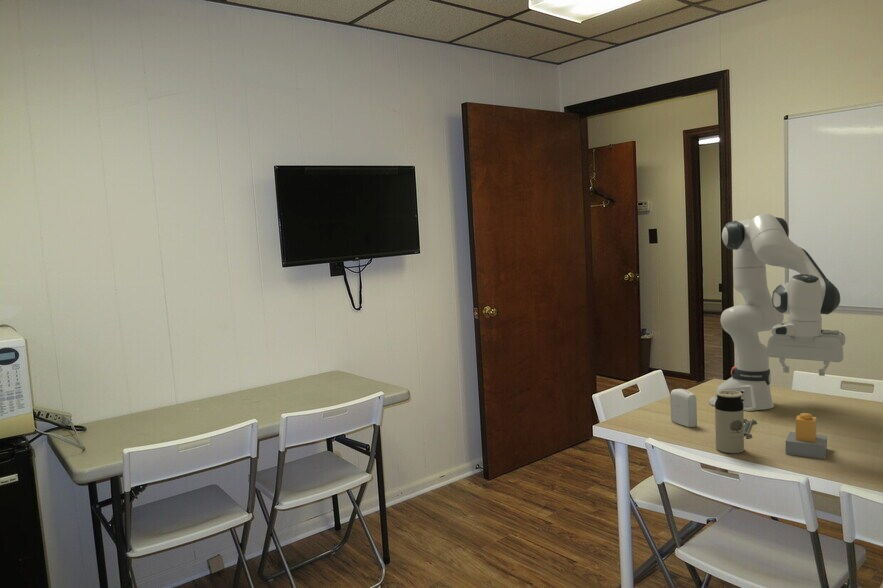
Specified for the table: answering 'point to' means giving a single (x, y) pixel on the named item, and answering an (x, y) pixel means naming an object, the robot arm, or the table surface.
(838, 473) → the table surface
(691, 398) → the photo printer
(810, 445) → the box
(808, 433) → the orange cube with knob
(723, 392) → the travel mug
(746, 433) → the wrench
